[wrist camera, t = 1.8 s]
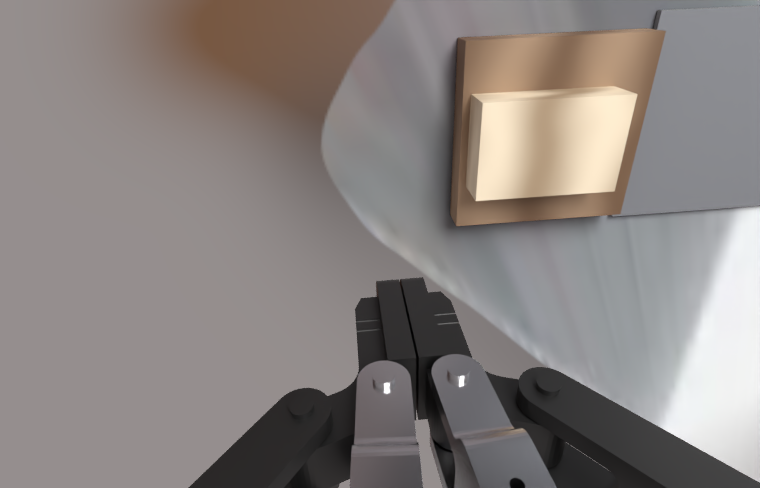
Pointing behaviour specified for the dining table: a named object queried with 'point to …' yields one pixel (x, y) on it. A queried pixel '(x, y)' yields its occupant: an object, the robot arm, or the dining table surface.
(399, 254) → the dining table surface
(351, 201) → the dining table surface
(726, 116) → the charcoal mat
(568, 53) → the block
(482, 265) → the dining table surface
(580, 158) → the beech tile
